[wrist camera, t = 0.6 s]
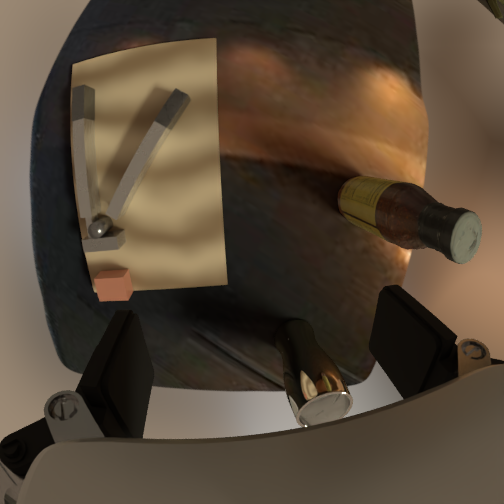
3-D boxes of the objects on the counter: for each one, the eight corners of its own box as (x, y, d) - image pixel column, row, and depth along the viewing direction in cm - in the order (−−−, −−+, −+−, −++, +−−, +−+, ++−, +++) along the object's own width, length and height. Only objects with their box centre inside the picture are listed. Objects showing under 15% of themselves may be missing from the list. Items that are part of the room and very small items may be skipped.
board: (76, 66, 24) (72, 64, 23) (216, 41, 26) (216, 38, 25) (97, 288, 34) (94, 292, 33) (227, 280, 36) (227, 284, 35)
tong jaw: (124, 214, 30) (116, 220, 28) (114, 208, 30) (104, 213, 27) (191, 100, 27) (188, 94, 24) (179, 93, 27) (175, 87, 24)
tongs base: (126, 241, 32) (117, 251, 28) (93, 244, 31) (82, 254, 28) (115, 84, 25) (104, 77, 22) (81, 93, 25) (67, 88, 21)
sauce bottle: (380, 210, 36) (492, 261, 17) (343, 229, 36) (445, 300, 17) (366, 165, 33) (487, 188, 15) (326, 183, 34) (436, 221, 15)
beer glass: (319, 315, 40) (362, 386, 26) (311, 352, 42) (344, 424, 28) (273, 316, 39) (301, 395, 25) (267, 354, 41) (289, 433, 27)
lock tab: (133, 290, 34) (128, 300, 31) (106, 292, 33) (99, 301, 31) (128, 269, 33) (123, 277, 30) (100, 270, 32) (93, 279, 30)
